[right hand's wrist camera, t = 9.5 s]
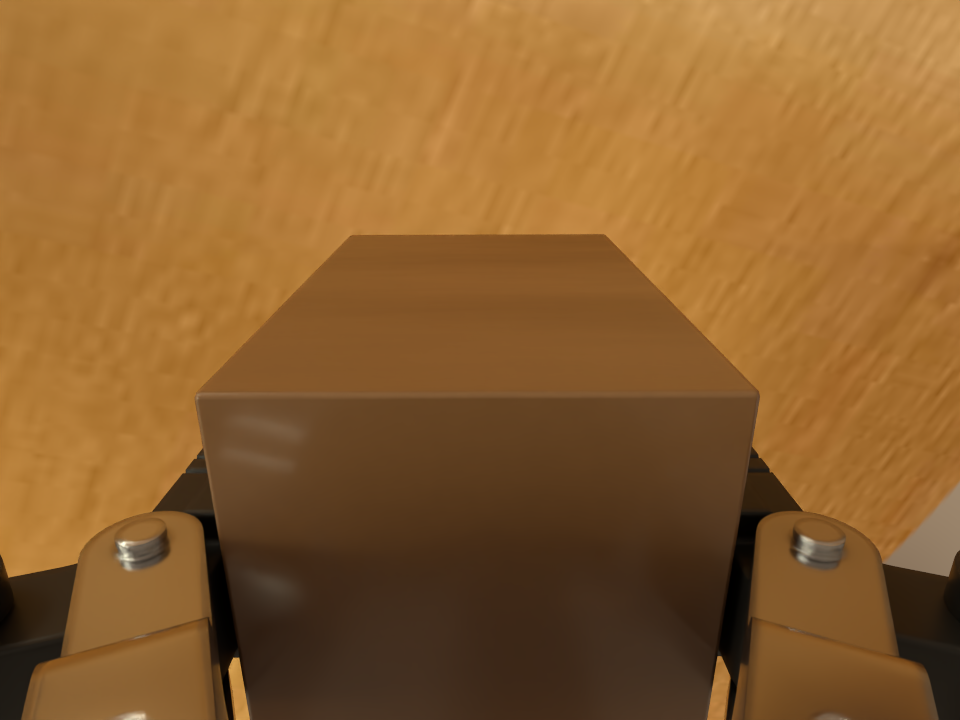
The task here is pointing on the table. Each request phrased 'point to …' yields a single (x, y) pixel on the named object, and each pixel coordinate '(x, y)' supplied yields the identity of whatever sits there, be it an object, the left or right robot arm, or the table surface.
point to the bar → (477, 487)
